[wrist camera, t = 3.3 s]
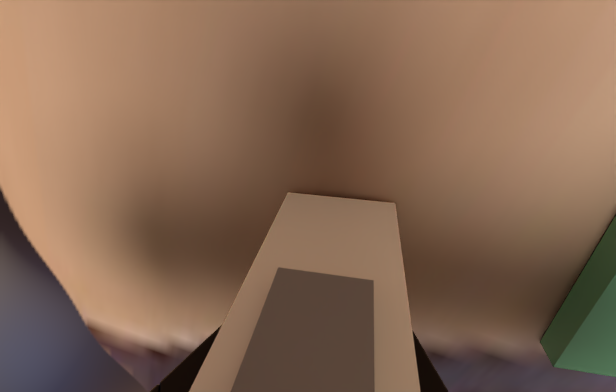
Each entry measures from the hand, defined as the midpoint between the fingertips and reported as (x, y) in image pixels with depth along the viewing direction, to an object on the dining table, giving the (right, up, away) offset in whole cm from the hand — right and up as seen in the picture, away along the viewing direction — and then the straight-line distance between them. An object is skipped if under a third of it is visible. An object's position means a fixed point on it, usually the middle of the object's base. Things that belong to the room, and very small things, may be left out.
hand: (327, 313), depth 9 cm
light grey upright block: (0, +1, +2) cm, 3 cm away
